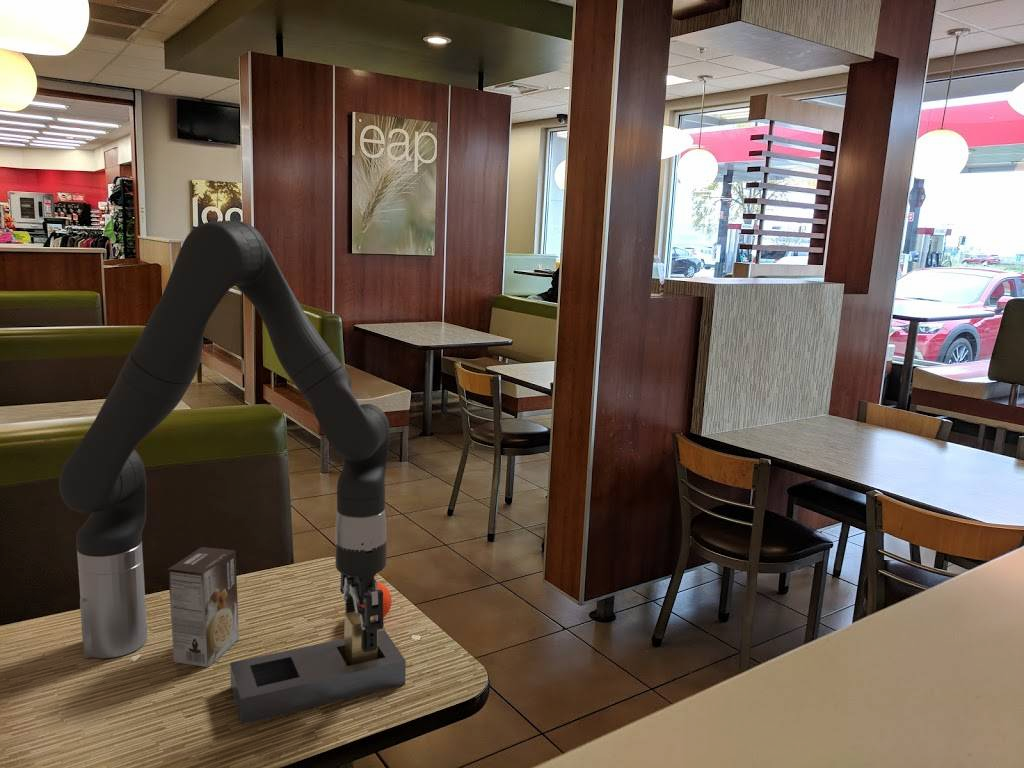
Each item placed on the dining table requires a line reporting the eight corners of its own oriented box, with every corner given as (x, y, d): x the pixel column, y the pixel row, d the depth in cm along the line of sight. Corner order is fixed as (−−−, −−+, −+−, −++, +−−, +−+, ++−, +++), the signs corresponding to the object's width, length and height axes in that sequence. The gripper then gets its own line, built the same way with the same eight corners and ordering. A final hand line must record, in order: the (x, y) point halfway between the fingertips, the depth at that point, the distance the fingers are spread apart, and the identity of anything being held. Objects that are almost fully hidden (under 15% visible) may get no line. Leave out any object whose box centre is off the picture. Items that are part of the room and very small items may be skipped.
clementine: (368, 636, 132) (369, 597, 131) (339, 624, 136) (339, 586, 134) (399, 617, 139) (400, 581, 137) (370, 606, 142) (370, 570, 141)
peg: (352, 685, 118) (352, 625, 116) (344, 672, 121) (344, 613, 119) (377, 679, 119) (377, 619, 118) (369, 666, 123) (369, 608, 121)
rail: (241, 724, 107) (240, 698, 106) (231, 686, 116) (230, 662, 115) (405, 684, 118) (405, 660, 118) (384, 652, 127) (384, 629, 126)
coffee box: (205, 634, 130) (202, 545, 127) (240, 639, 129) (237, 549, 126) (171, 663, 122) (167, 567, 118) (208, 668, 120) (204, 573, 117)
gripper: (324, 524, 120) (324, 620, 123) (349, 560, 108) (350, 665, 111) (370, 518, 124) (370, 611, 127) (400, 551, 111) (399, 654, 114)
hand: (360, 636), depth 119 cm, fingers open, 8 cm apart
